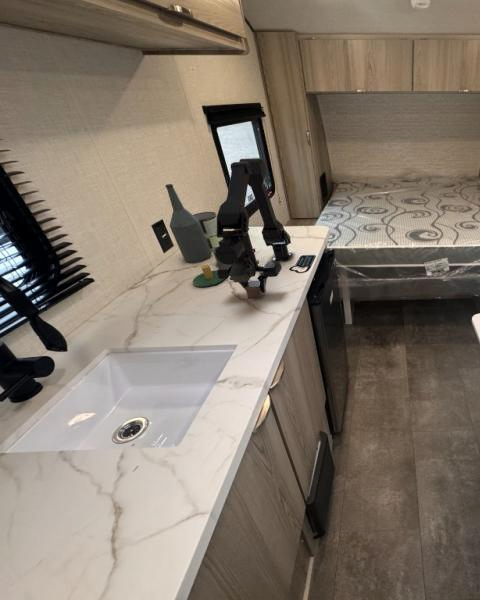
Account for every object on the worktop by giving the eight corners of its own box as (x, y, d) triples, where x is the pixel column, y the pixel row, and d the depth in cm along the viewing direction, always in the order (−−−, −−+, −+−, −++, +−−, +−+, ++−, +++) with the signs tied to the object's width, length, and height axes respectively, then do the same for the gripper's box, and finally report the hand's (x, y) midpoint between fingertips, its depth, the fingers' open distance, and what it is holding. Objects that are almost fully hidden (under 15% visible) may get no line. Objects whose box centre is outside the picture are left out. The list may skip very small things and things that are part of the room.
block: (253, 291, 111) (249, 280, 108) (266, 291, 111) (263, 279, 108) (248, 299, 107) (244, 287, 104) (262, 298, 107) (258, 286, 104)
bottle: (180, 263, 132) (146, 188, 115) (191, 253, 140) (161, 181, 124) (206, 262, 132) (176, 187, 116) (216, 252, 141) (189, 180, 124)
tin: (224, 256, 137) (220, 243, 133) (249, 255, 137) (245, 242, 133) (213, 268, 128) (208, 254, 125) (240, 267, 128) (235, 253, 125)
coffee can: (200, 252, 141) (188, 221, 133) (201, 244, 148) (189, 214, 141) (226, 247, 144) (215, 216, 136) (226, 239, 152) (215, 210, 144)
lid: (202, 273, 124) (197, 260, 121) (231, 272, 125) (227, 259, 121) (187, 288, 115) (181, 274, 112) (219, 287, 115) (213, 273, 112)
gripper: (199, 262, 93) (218, 307, 101) (265, 260, 93) (277, 304, 102) (216, 246, 102) (232, 288, 111) (276, 244, 102) (287, 286, 111)
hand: (256, 292), depth 108 cm, fingers closed on block, 4 cm apart
